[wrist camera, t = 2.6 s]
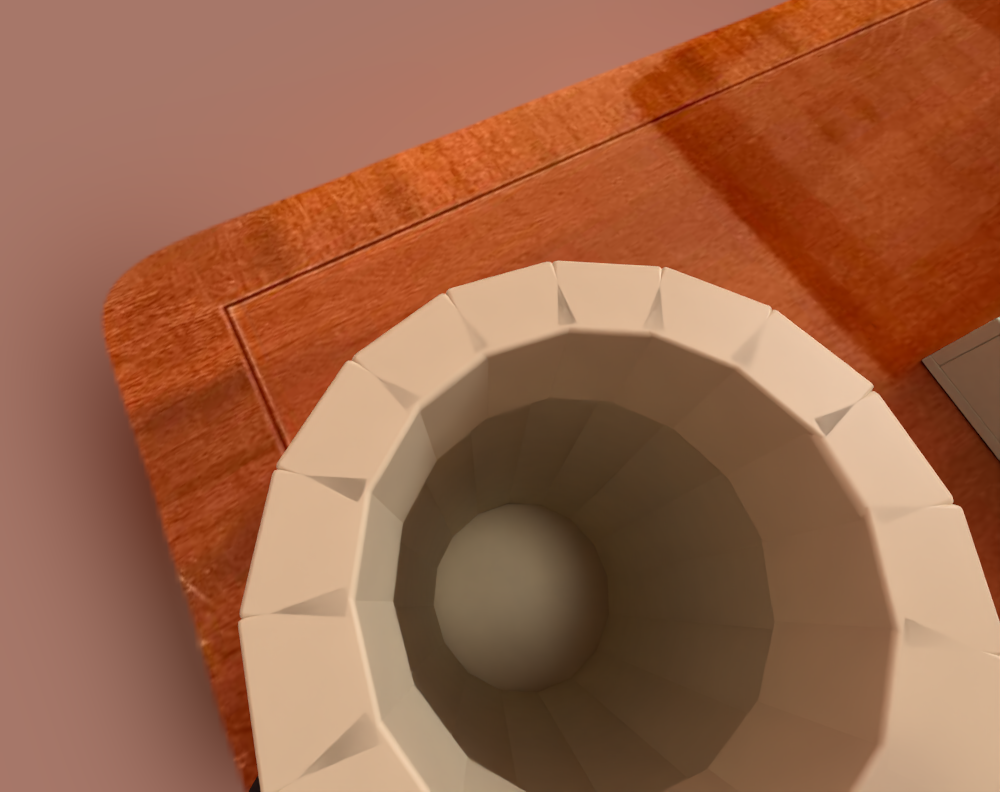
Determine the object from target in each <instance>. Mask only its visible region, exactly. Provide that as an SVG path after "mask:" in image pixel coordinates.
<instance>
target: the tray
mask: <svg viewBox="0 0 1000 792" xmlns="http://www.w3.org/2000/svg"><path fill="white" fill-rule="evenodd" d="M922 362H923V363H924V364H925V366H926V367H927V368H928V370H929V371H930V372H931V373H932V375H933V376H934V377H935V379H936V380H937V381H938V382H939V384H940V385H941V386H942V388H943V389H944V390H945V391H946V393H947V394H948V395H949V397H950V398H951V399H952V400H953V402H954V403H955V404H956V405H957V407H958V408H959V409H960V411H961V412H962V413H963V414H964V416H965V417H966V418H967V420H968V421H969V422H970V423H971V425H972V426H973V427H974V429H975V430H976V431H977V432H978V434H979V435H980V436H981V438H982V439H983V440H984V441H985V443H986V444H987V445H988V447H989V448H990V449H991V450H992V452H993V453H994V454H995V455H996V457H997V458H998V459H999V461H1000V317H999V318H996V319H994V320H992V321H991V322H989V323H987V324H985V325H983V326H982V327H980V328H978V329H976V330H974V331H973V332H971V333H969V334H967V335H965V336H964V337H962V338H960V339H958V340H956V341H955V342H953V343H951V344H949V345H947V346H946V347H944V348H942V349H940V350H938V351H937V352H935V353H933V354H932V355H929V356H928V357H926V358H924V359H922Z"/></svg>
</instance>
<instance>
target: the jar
mask: <svg viewBox="0 0 1000 792" xmlns="http://www.w3.org/2000/svg"><path fill="white" fill-rule="evenodd" d="M872 389H873V384H872V383H871V382H869V381H868V380H867V379H865V378H864V377H863V376H862V375H860V374H859V373H858V372H856V371H855V370H854V369H852V368H851V367H850V366H849V365H847V364H846V363H845V362H843V361H842V360H841V359H839V358H838V357H837V356H836V355H834V354H833V353H832V352H830V351H829V350H828V349H826V348H825V347H824V346H823V345H821V344H820V343H819V342H817V341H816V340H815V339H813V338H812V337H811V336H809V335H808V334H807V333H806V332H804V331H803V330H802V329H800V328H799V327H798V326H796V325H795V324H794V323H793V322H791V321H790V320H789V319H787V318H786V317H785V316H783V315H782V314H781V313H780V312H778V311H777V310H772V308H771V307H770V306H768V305H765V304H763V303H760V302H757V301H755V300H752V299H749V298H747V297H744V296H741V295H739V294H736V293H734V292H731V291H728V290H726V289H723V288H720V287H718V286H715V285H712V284H710V283H707V282H705V281H702V280H699V279H697V278H694V277H691V276H689V275H686V274H683V273H681V272H678V271H676V270H673V269H670V268H668V267H664V268H663V269H661V268H660V267H658V266H642V265H624V264H606V263H588V262H570V261H555V262H553V264H552V263H551V262H544V263H540V264H537V265H533V266H529V267H526V268H522V269H519V270H515V271H511V272H508V273H504V274H501V275H497V276H493V277H490V278H486V279H483V280H479V281H475V282H472V283H468V284H465V285H461V286H457V287H454V288H450V289H449V290H447V292H446V294H440V295H438V296H437V297H435V298H434V299H433V300H431V301H430V302H428V303H427V304H426V305H424V306H423V307H421V308H420V309H418V310H417V311H416V312H414V313H413V314H411V315H410V316H409V317H407V318H406V319H404V320H403V321H402V322H400V323H399V324H397V325H396V326H395V327H393V328H392V329H390V330H389V331H388V332H386V333H385V334H383V335H382V336H380V337H379V338H378V339H376V340H375V341H373V342H372V343H371V344H369V345H368V346H366V347H365V348H364V349H362V350H361V351H359V352H358V353H357V354H355V356H354V357H353V358H352V361H347V362H346V363H345V364H344V365H343V367H342V368H341V370H340V371H339V373H338V374H337V376H336V377H335V379H334V380H333V382H332V383H331V384H330V386H329V387H328V389H327V390H326V392H325V393H324V395H323V396H322V398H321V399H320V401H319V402H318V404H317V405H316V407H315V408H314V410H313V411H312V413H311V414H310V415H309V417H308V418H307V420H306V421H305V423H304V424H303V426H302V427H301V429H300V430H299V432H298V433H297V435H296V436H295V438H294V439H293V441H292V442H291V443H290V445H289V446H288V448H287V449H286V451H285V452H284V454H283V455H282V457H281V458H280V460H279V461H278V463H277V466H276V467H277V469H278V470H275V471H274V472H273V474H272V478H271V482H270V486H269V490H268V495H267V499H266V503H265V507H264V511H263V516H262V520H261V524H260V528H259V532H258V537H257V541H256V545H255V549H254V553H253V558H252V562H251V566H250V570H249V574H248V579H247V583H246V587H245V591H244V595H243V600H242V604H241V608H240V617H241V618H242V619H241V620H240V621H239V623H238V629H239V636H240V644H241V651H242V659H243V666H244V673H245V681H246V688H247V695H248V703H249V710H250V717H251V725H252V732H253V739H254V747H255V754H256V761H257V769H258V776H259V783H260V791H261V792H1000V621H999V618H998V615H997V612H996V609H995V606H994V603H993V600H992V597H991V594H990V591H989V588H988V585H987V582H986V579H985V576H984V573H983V570H982V567H981V564H980V561H979V558H978V555H977V552H976V549H975V546H974V543H973V540H972V537H971V534H970V530H969V527H968V524H967V521H966V518H965V515H964V512H963V509H962V508H961V507H960V506H958V505H953V504H952V503H953V502H954V501H953V497H952V495H951V493H950V492H949V491H948V489H947V488H946V486H945V485H944V484H943V482H942V481H941V480H940V478H939V477H938V475H937V474H936V473H935V471H934V470H933V468H932V467H931V466H930V464H929V463H928V462H927V460H926V459H925V457H924V456H923V455H922V453H921V452H920V450H919V449H918V448H917V446H916V445H915V443H914V442H913V441H912V439H911V438H910V437H909V435H908V434H907V432H906V431H905V430H904V428H903V427H902V425H901V424H900V423H899V421H898V420H897V418H896V417H895V416H894V414H893V413H892V412H891V410H890V409H889V407H888V406H887V405H886V403H885V402H884V400H883V399H882V398H881V396H880V395H879V394H877V393H876V392H875V391H872Z"/></svg>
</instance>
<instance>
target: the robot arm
mask: <svg viewBox="0 0 1000 792" xmlns="http://www.w3.org/2000/svg"><path fill="white" fill-rule="evenodd" d="M249 792H261V791H260V783H259V776H258V777H257V778H256V780H255V782H254V783H253V785H252V787H251V788H250V790H249Z"/></svg>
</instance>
